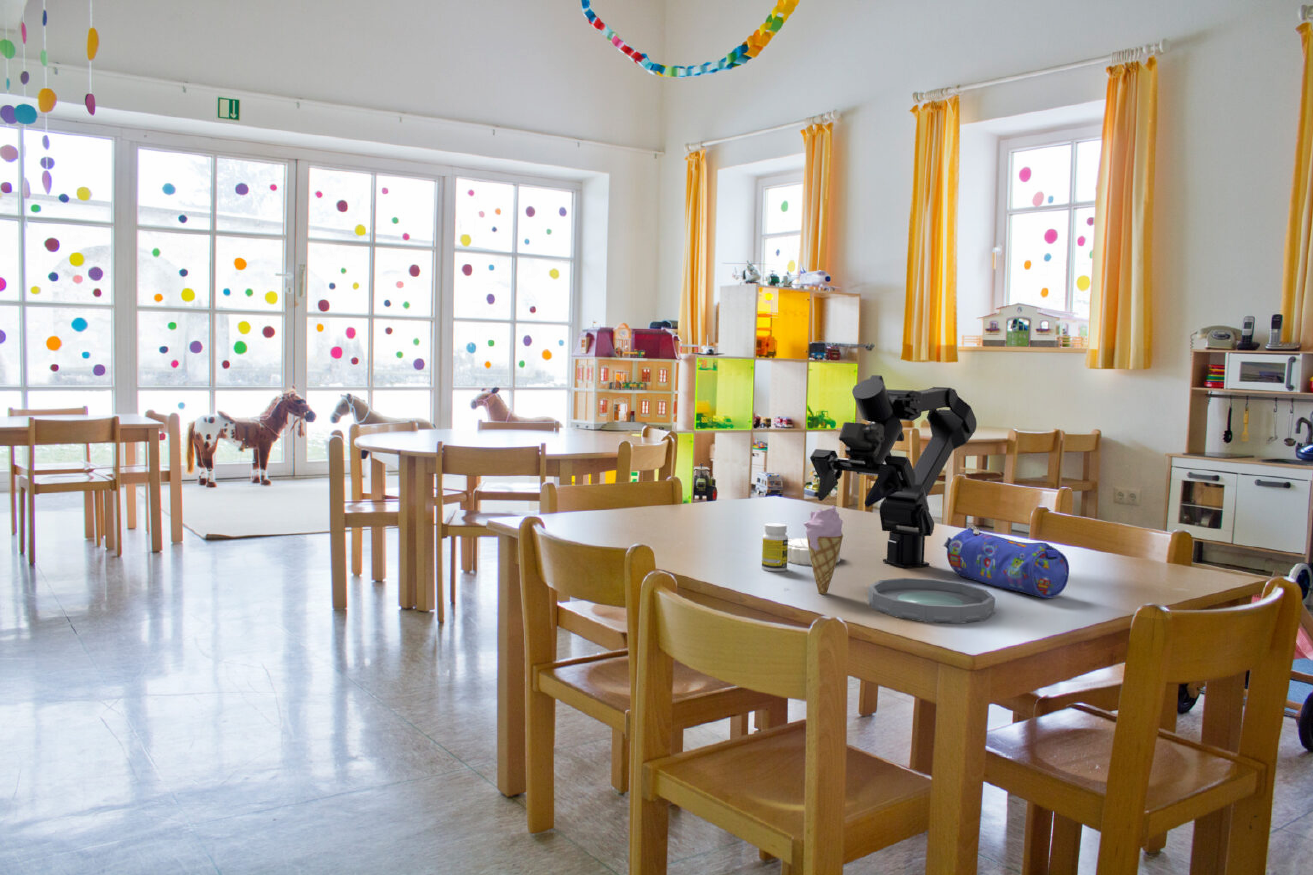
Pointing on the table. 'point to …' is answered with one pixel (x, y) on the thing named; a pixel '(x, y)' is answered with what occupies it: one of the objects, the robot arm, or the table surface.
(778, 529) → the supplement bottle
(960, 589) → the round tray
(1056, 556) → the pencil case
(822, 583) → the ice cream cone
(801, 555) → the mooncake
